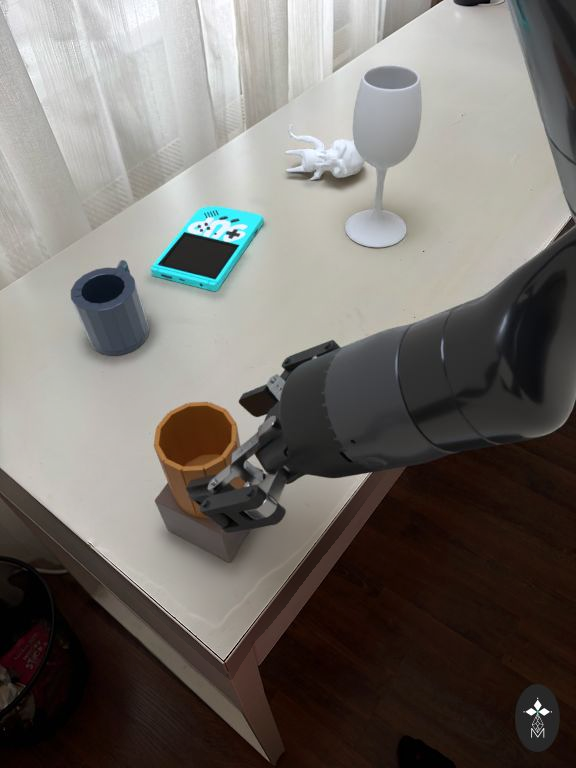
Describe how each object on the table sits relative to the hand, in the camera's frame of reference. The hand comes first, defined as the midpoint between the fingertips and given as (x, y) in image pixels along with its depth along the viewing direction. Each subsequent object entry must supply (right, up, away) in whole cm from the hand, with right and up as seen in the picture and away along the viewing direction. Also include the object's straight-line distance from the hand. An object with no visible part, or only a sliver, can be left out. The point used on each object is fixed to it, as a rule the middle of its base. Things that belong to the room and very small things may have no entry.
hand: (223, 447), depth 46 cm
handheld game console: (-6, +24, +37) cm, 44 cm away
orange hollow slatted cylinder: (-2, -4, +6) cm, 8 cm away
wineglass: (+17, +27, +38) cm, 50 cm away
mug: (-16, +12, +28) cm, 34 cm away
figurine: (+11, +38, +48) cm, 62 cm away
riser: (-2, -8, +11) cm, 14 cm away
